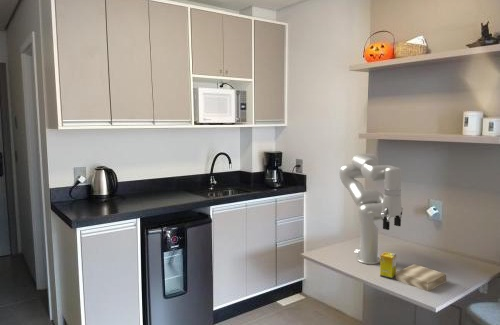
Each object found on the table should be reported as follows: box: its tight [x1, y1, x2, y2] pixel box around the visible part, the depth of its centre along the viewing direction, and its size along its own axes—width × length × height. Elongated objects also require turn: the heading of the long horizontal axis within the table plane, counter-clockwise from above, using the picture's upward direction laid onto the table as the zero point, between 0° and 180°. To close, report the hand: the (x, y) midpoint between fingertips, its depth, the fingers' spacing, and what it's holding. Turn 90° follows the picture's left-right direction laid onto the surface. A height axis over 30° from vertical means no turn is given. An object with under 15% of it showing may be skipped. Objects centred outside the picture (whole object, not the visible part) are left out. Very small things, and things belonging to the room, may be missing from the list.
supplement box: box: [379, 251, 397, 280], centre depth 187 cm, size 6×6×11 cm
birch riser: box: [395, 264, 447, 292], centre depth 181 cm, size 16×16×4 cm
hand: (391, 227), depth 185 cm, fingers open, 9 cm apart
